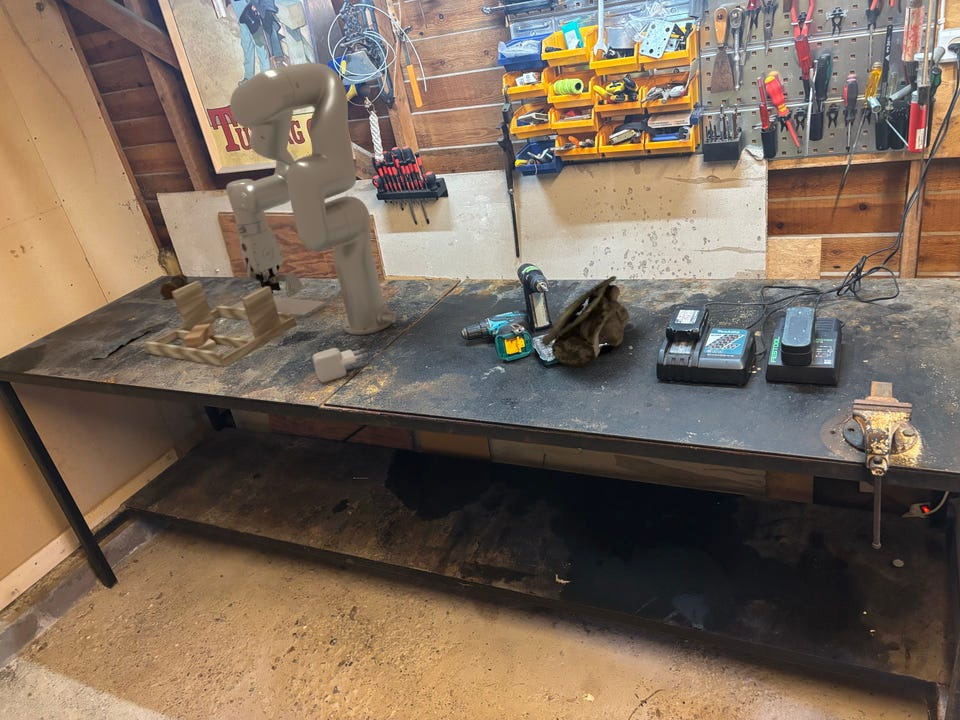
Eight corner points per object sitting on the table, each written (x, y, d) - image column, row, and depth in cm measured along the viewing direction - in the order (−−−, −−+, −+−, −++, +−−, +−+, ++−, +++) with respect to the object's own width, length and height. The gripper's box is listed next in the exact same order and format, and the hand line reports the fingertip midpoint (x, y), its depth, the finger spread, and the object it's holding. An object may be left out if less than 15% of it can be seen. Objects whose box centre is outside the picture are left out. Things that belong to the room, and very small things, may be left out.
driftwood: (104, 362, 163) (101, 355, 162) (84, 362, 165) (80, 354, 164) (161, 328, 180) (158, 322, 179) (142, 328, 182) (139, 322, 181)
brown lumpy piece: (188, 288, 215) (175, 302, 202) (173, 283, 214) (158, 297, 200) (192, 272, 213) (179, 285, 200) (176, 267, 212) (162, 280, 198)
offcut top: (202, 346, 155) (199, 336, 154) (186, 348, 155) (182, 339, 154) (213, 332, 162) (210, 323, 161) (198, 334, 162) (195, 325, 161)
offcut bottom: (219, 352, 158) (215, 341, 156) (203, 359, 155) (199, 348, 154) (203, 343, 165) (199, 332, 163) (188, 349, 162) (184, 338, 161)
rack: (296, 324, 167) (284, 280, 161) (225, 366, 149) (208, 319, 143) (219, 315, 181) (205, 275, 176) (146, 352, 163) (128, 309, 158)
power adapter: (366, 361, 141) (360, 337, 138) (372, 369, 137) (366, 345, 134) (317, 376, 137) (310, 352, 135) (321, 385, 133) (314, 361, 131)
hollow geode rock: (568, 402, 123) (618, 360, 113) (521, 356, 124) (565, 310, 113) (617, 336, 144) (663, 295, 133) (576, 297, 144) (618, 253, 134)
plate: (326, 305, 176) (325, 301, 176) (304, 318, 169) (303, 315, 169) (253, 298, 190) (252, 295, 190) (230, 310, 183) (229, 307, 183)
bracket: (296, 292, 170) (275, 259, 168) (258, 317, 184) (238, 287, 182) (304, 288, 172) (284, 255, 171) (266, 313, 186) (247, 283, 185)
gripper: (240, 237, 162) (261, 304, 170) (284, 219, 174) (302, 282, 182) (220, 236, 165) (241, 302, 174) (265, 218, 177) (283, 280, 186)
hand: (272, 291), depth 178 cm, fingers closed on bracket, 2 cm apart
